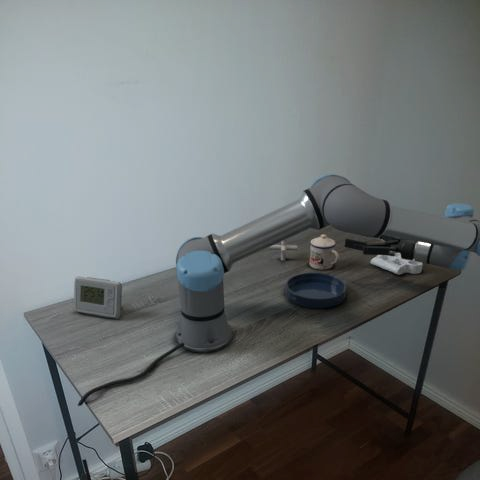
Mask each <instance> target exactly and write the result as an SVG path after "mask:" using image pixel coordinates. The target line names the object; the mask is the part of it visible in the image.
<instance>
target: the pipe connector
mask: <svg viewBox="0 0 480 480" xmlns="http://www.w3.org/2000/svg"><path fill="white" fill-rule="evenodd" d="M280 243H281V244H274V245H272V246H270V247H269V250H271V251H273V250H277V251H280V261H283V262H285V261H286V258H287V251H298V244H287V239H285V240H283V241H281V242H280Z"/></svg>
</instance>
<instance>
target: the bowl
mask: <svg viewBox="0 0 480 480" xmlns="http://www.w3.org/2000/svg"><path fill="white" fill-rule="evenodd" d="M346 293H347V284H346V283H345V281H344V280H342V279H340V278H339V277H338V276H335V275H332V274H328V273H323V272H303V273H298V274H294V275H292V276H291V277H290V276H289V278H288V279H287V280H286V281H285V289H284V294H285V296H286V298H287V299H288V300H289V301H290V302H292V303H293V304H296V305H298V306H301V307H306V308H311V309H326V308H332V307H335V306H338V305H340V304H341V303H343V302H344V300H345V299H346V295H347V294H346Z"/></svg>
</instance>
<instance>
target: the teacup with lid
mask: <svg viewBox="0 0 480 480" xmlns="http://www.w3.org/2000/svg"><path fill="white" fill-rule="evenodd" d="M309 244H310V248H309V249H310V250H309V266H310V267H311V268H312V269H315V270H323V271H325V270H329V269H331V268H333V266H334V265H335V264H336V263H338V261H339V259H340V254H339V253H338V251H336V245H337V243H336V241H335V240H334V239H332V238H329V237H327V235H326V234H320V236H318V237H315V238H312V239H311V240H310V242H309Z"/></svg>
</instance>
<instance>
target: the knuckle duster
mask: <svg viewBox="0 0 480 480" xmlns="http://www.w3.org/2000/svg"><path fill="white" fill-rule="evenodd" d="M370 264H371V265H372V266H376V267H378V268H381V269H383V270H385V271H388V272H389V273H393V274H395V275H397V276H399V275H403V274H410V275H411V274H412V275H417V274H421V273H422V270H423V266H424V264H422V262H417V261H415V260H414V259H413V260H407V259H402V258H401V254H400V253H395V256H388V255H376V256H375V257H373V258H372V259H370Z"/></svg>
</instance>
